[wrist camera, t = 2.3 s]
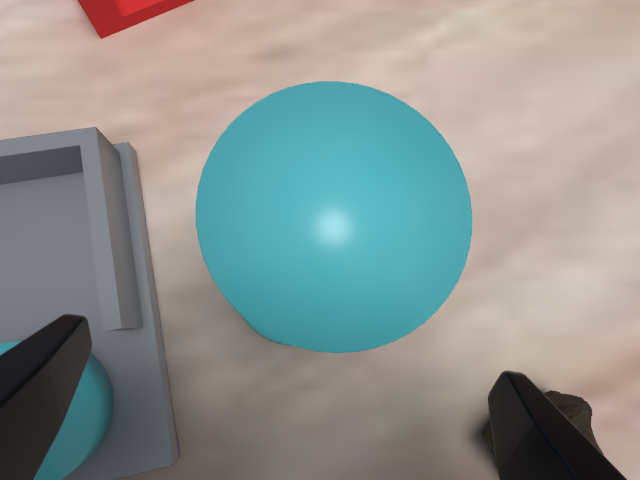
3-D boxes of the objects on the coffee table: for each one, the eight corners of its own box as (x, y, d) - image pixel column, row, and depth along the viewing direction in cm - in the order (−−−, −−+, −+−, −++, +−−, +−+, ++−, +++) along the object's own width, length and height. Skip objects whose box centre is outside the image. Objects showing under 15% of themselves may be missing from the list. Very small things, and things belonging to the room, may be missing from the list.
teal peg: (293, 368, 18) (337, 475, 6) (211, 281, 19) (79, 200, 6) (376, 284, 19) (569, 217, 7) (297, 204, 20) (338, -8, 7)
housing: (179, 457, 17) (142, 510, 13) (-60, 513, 16) (-204, 597, 11) (135, 151, 19) (88, 94, 14) (-80, 182, 18) (-210, 132, 13)
